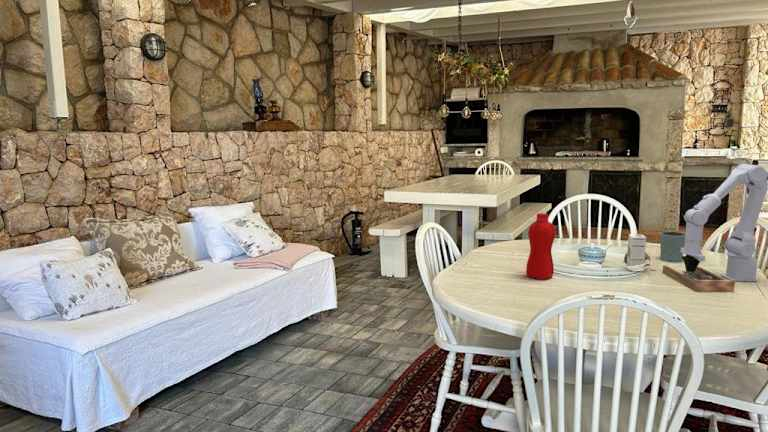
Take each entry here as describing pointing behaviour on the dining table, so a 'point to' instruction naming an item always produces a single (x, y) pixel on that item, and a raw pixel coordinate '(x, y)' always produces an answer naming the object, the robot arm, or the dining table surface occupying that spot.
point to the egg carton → (696, 276)
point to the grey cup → (672, 246)
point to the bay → (701, 281)
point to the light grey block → (645, 257)
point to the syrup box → (636, 249)
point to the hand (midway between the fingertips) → (690, 274)
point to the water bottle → (540, 248)
